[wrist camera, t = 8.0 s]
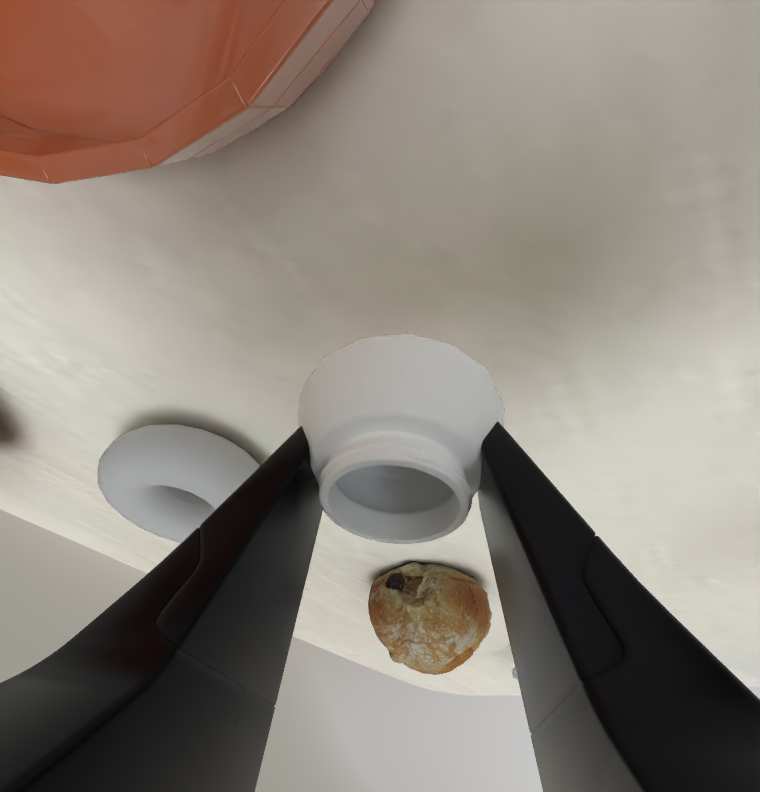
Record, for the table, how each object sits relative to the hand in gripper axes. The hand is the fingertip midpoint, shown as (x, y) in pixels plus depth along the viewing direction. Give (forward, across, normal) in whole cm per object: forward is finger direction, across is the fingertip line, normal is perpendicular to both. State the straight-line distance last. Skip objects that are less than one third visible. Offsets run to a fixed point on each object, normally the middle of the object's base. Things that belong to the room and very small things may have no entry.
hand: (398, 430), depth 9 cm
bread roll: (+7, 0, +27) cm, 28 cm away
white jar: (+1, 0, 0) cm, 1 cm away
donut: (+7, +14, +10) cm, 19 cm away
